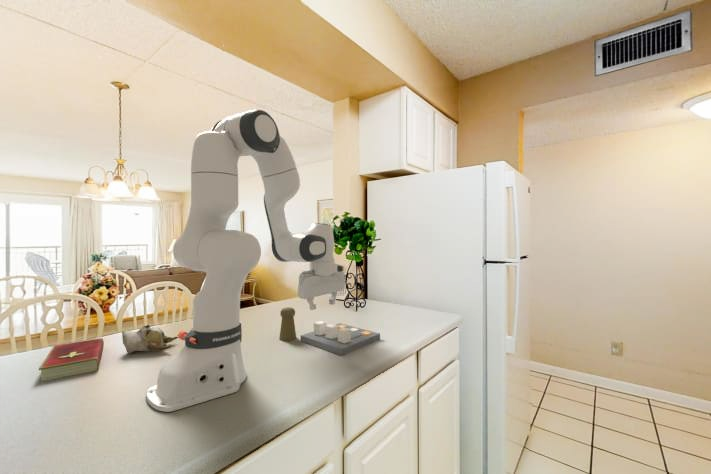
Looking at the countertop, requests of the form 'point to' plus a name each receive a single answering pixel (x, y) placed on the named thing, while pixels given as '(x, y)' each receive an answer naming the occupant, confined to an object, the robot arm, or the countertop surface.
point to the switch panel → (357, 341)
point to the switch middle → (331, 331)
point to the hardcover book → (72, 359)
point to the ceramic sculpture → (146, 340)
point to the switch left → (319, 328)
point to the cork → (287, 324)
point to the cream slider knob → (344, 335)
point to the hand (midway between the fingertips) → (322, 306)
